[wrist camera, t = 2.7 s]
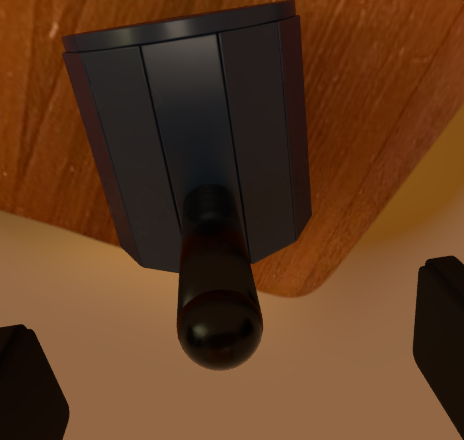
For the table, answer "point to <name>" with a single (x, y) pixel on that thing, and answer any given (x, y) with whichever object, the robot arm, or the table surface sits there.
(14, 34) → the table surface
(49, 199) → the table surface
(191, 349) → the pot
